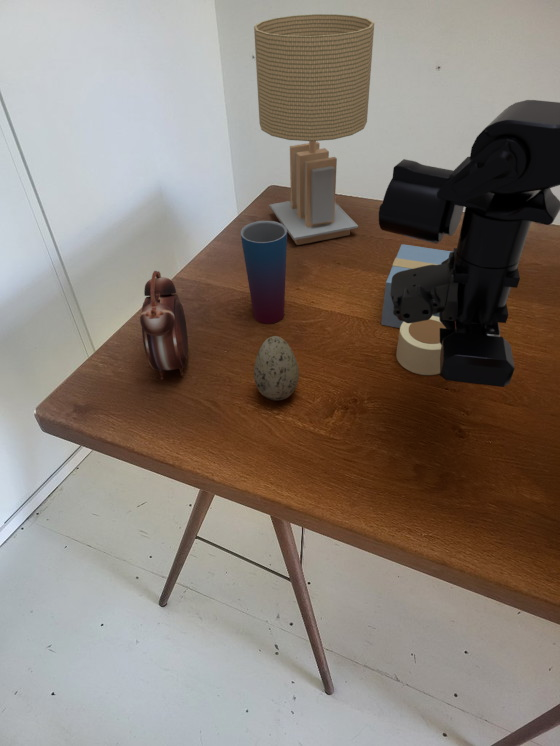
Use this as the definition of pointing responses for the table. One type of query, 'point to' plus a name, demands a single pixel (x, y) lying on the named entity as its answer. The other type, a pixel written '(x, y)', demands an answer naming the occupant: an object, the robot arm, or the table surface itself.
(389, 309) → the carton
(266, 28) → the desk lamp
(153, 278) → the alarm clock
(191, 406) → the table surface
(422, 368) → the tape
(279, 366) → the decorative egg
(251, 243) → the cup
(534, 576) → the table surface
